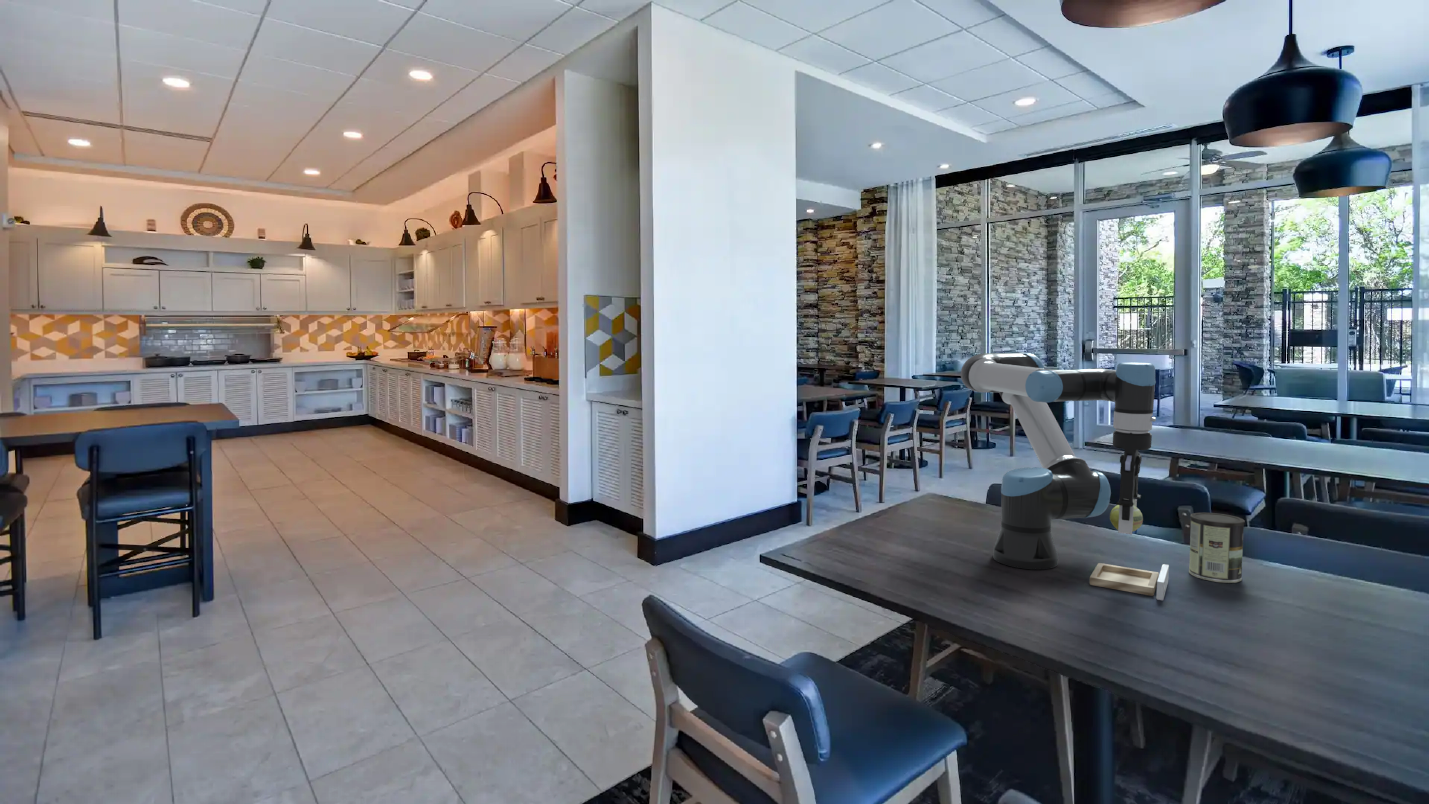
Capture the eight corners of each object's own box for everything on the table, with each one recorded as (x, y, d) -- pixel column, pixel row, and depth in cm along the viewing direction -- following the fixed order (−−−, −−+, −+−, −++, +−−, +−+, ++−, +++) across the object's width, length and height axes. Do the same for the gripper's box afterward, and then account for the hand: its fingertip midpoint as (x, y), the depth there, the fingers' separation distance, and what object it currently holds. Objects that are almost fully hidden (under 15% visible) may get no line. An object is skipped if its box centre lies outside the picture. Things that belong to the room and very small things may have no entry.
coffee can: (1227, 569, 165) (1230, 512, 164) (1251, 584, 155) (1254, 523, 154) (1179, 567, 168) (1182, 511, 166) (1200, 582, 157) (1203, 522, 156)
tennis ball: (1132, 507, 153) (1147, 501, 156) (1101, 504, 158) (1116, 499, 162) (1135, 535, 153) (1150, 529, 156) (1104, 532, 158) (1119, 526, 162)
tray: (1089, 584, 157) (1089, 577, 157) (1098, 570, 167) (1098, 562, 167) (1153, 596, 149) (1153, 588, 149) (1158, 580, 159) (1158, 572, 159)
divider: (1156, 599, 148) (1157, 581, 147) (1162, 580, 159) (1162, 564, 158) (1163, 600, 147) (1163, 582, 146) (1168, 581, 158) (1168, 565, 158)
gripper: (1148, 438, 145) (1142, 543, 147) (1155, 426, 160) (1149, 521, 163) (1107, 435, 149) (1102, 537, 152) (1118, 424, 165) (1113, 517, 167)
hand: (1126, 529), depth 157 cm, fingers closed on tennis ball, 6 cm apart
